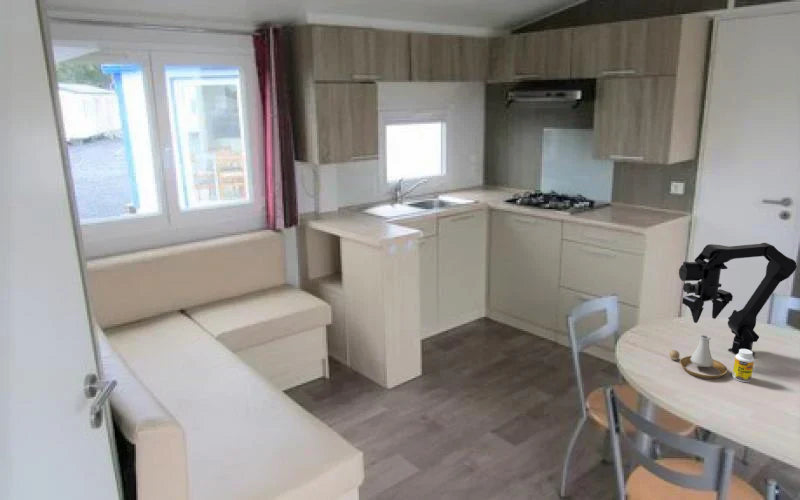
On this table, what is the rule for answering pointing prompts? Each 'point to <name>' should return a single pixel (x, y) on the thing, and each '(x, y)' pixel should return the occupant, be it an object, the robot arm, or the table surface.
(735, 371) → the supplement bottle
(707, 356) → the flask
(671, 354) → the beige ball
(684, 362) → the plant saucer
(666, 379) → the table surface
